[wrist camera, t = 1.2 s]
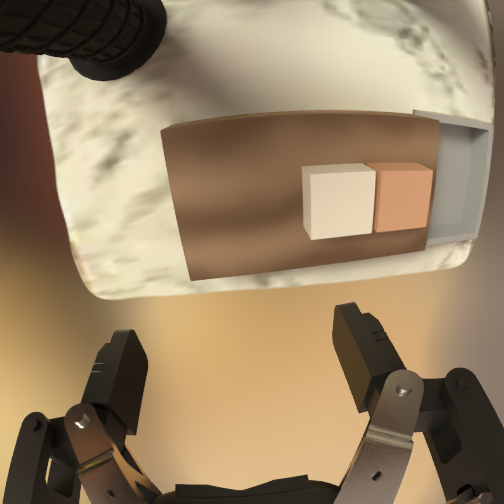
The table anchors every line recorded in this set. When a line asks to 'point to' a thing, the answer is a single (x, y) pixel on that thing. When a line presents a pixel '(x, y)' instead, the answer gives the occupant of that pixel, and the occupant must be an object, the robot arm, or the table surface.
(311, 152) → the walnut platform
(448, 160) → the box
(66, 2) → the handle grip
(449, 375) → the robot arm
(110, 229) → the table surface
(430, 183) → the terracotta tile
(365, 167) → the cream tile
